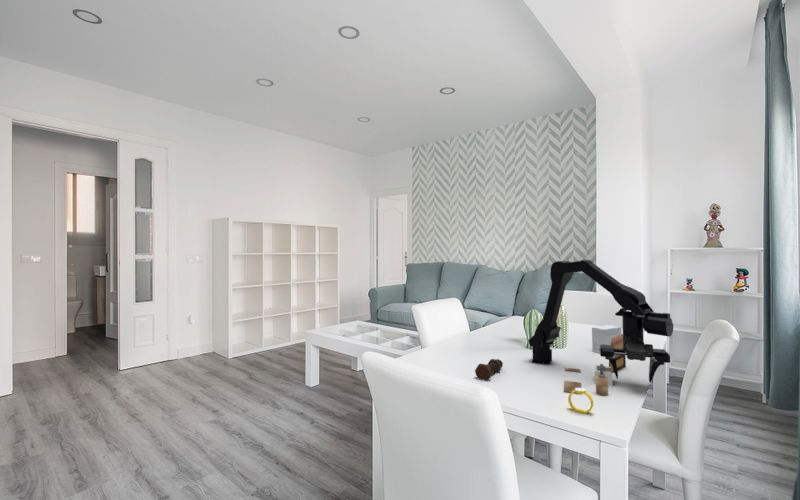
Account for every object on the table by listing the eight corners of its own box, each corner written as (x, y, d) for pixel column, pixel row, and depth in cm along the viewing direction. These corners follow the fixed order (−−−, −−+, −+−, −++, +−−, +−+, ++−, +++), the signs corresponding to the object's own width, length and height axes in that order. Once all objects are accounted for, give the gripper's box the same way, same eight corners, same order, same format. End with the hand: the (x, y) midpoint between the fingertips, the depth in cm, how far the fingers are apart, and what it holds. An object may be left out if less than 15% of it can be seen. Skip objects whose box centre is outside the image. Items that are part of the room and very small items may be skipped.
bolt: (501, 374, 140) (484, 384, 127) (489, 365, 142) (472, 374, 130) (508, 361, 138) (492, 370, 126) (497, 352, 141) (480, 361, 129)
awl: (596, 394, 114) (596, 365, 114) (595, 391, 117) (595, 362, 117) (608, 396, 113) (608, 366, 113) (607, 392, 115) (607, 363, 115)
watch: (568, 411, 103) (566, 389, 104) (571, 408, 105) (569, 386, 106) (592, 415, 100) (590, 392, 100) (594, 412, 102) (592, 389, 102)
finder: (594, 383, 124) (594, 369, 124) (594, 377, 130) (594, 364, 130) (612, 385, 121) (612, 372, 121) (611, 379, 128) (611, 365, 128)
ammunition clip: (614, 373, 133) (614, 338, 133) (608, 372, 135) (608, 337, 135) (625, 366, 140) (625, 334, 140) (620, 365, 142) (620, 333, 142)
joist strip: (563, 392, 116) (563, 391, 116) (565, 368, 139) (565, 367, 139) (581, 394, 114) (581, 393, 114) (580, 370, 137) (580, 369, 137)
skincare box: (608, 348, 166) (608, 324, 166) (622, 352, 160) (622, 326, 160) (591, 351, 162) (591, 326, 162) (605, 355, 156) (604, 329, 156)
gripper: (601, 333, 119) (601, 384, 119) (674, 339, 111) (674, 393, 111) (599, 327, 129) (599, 373, 129) (665, 331, 121) (666, 380, 121)
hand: (633, 380), depth 122 cm, fingers open, 9 cm apart
